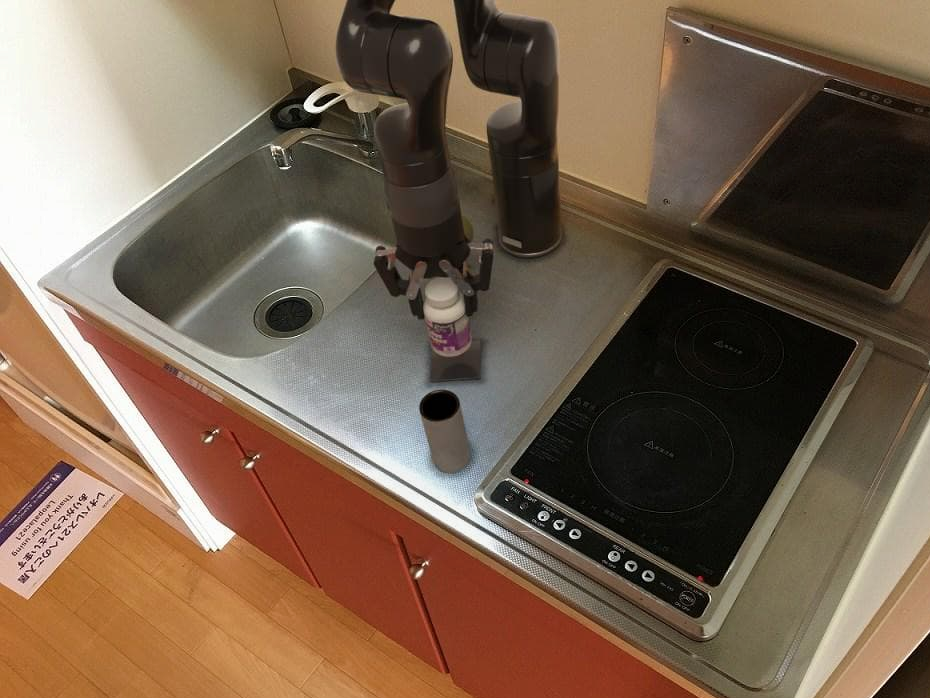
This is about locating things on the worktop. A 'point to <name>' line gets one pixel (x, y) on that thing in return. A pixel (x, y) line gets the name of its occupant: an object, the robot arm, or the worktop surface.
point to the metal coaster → (457, 365)
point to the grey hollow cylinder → (445, 430)
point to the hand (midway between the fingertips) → (445, 312)
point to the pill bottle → (446, 318)
